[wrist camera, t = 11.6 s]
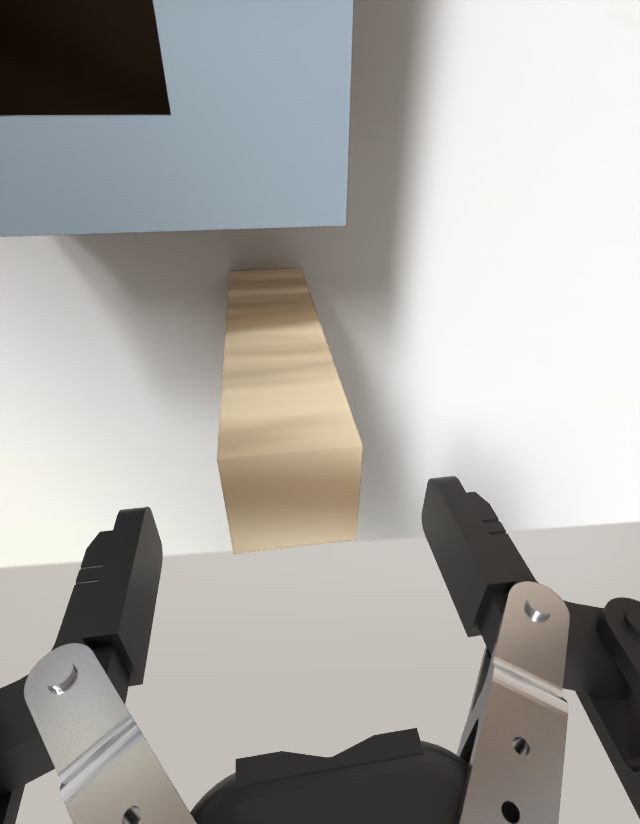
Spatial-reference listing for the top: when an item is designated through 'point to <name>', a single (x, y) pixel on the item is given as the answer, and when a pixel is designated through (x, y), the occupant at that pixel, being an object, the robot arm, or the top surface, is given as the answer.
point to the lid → (201, 132)
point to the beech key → (284, 420)
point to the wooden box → (81, 58)
